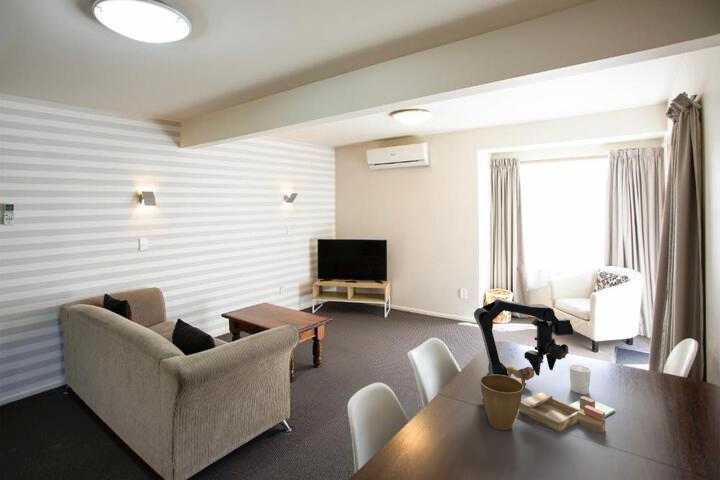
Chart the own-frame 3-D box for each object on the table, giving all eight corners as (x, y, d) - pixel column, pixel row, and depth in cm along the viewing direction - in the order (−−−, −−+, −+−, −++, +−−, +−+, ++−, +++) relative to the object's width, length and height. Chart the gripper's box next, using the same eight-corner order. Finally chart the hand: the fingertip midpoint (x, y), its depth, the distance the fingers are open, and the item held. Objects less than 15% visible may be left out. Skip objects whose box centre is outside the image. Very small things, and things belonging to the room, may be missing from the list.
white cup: (584, 386, 160) (584, 364, 159) (594, 395, 152) (594, 372, 151) (565, 386, 160) (566, 364, 160) (574, 394, 153) (575, 371, 152)
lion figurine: (535, 385, 162) (536, 366, 162) (532, 389, 158) (532, 369, 158) (503, 376, 172) (503, 358, 171) (499, 380, 168) (499, 362, 167)
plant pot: (497, 440, 123) (496, 395, 122) (472, 417, 137) (472, 377, 136) (532, 432, 127) (532, 388, 126) (505, 411, 141) (505, 371, 140)
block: (601, 420, 125) (601, 414, 125) (583, 413, 130) (584, 406, 130) (605, 418, 126) (605, 412, 126) (587, 411, 131) (587, 405, 131)
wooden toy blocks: (582, 444, 119) (582, 432, 119) (519, 412, 140) (519, 401, 140) (605, 430, 127) (605, 418, 127) (542, 401, 148) (542, 391, 147)
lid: (594, 424, 131) (594, 409, 131) (564, 410, 141) (564, 397, 141) (614, 412, 139) (615, 398, 138) (584, 400, 149) (584, 387, 148)
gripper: (549, 345, 135) (549, 385, 136) (577, 336, 145) (576, 374, 145) (523, 338, 145) (523, 375, 146) (550, 329, 154) (550, 365, 155)
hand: (544, 372), depth 148 cm, fingers open, 9 cm apart
